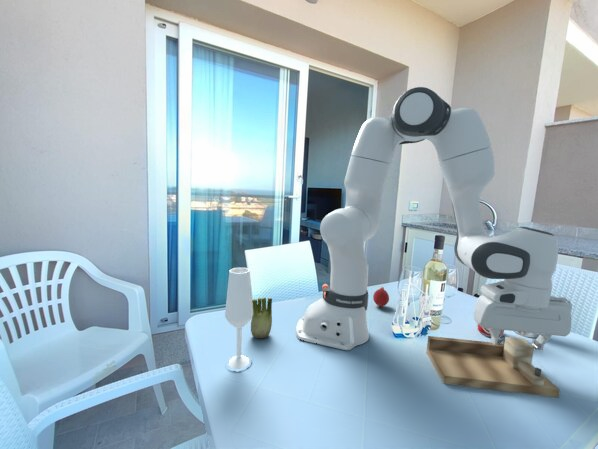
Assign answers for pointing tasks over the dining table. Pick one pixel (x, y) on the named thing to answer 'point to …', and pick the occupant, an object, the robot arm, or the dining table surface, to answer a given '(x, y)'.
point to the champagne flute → (239, 309)
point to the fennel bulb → (261, 318)
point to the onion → (381, 297)
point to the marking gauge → (522, 359)
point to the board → (481, 367)
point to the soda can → (486, 331)
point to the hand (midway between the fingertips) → (516, 346)
